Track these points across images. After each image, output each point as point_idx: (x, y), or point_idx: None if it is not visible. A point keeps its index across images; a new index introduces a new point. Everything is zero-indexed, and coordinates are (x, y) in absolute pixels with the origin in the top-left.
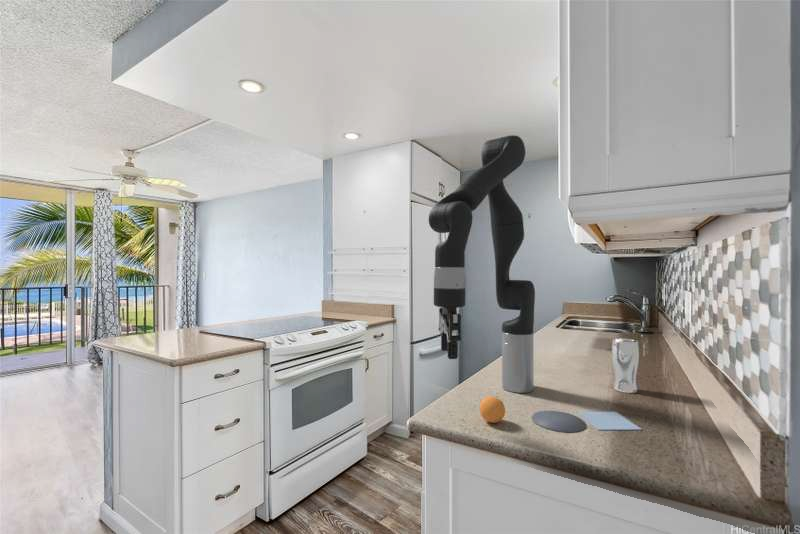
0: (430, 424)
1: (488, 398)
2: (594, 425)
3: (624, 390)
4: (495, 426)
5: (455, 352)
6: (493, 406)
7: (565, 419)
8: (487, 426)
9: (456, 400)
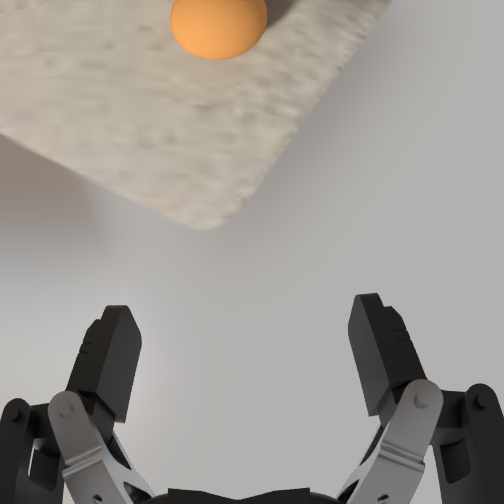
0: (239, 201)
1: (222, 28)
2: None
3: None
4: None
5: (403, 333)
6: (261, 19)
7: None
8: None
9: (57, 122)
